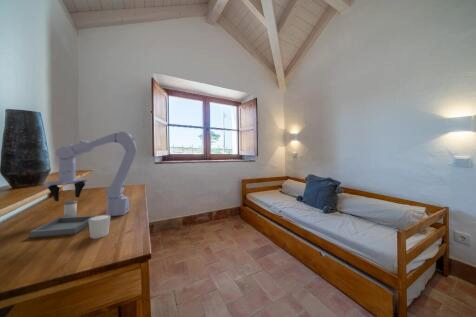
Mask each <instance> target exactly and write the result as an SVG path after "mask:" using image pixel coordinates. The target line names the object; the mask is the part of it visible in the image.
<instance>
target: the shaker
mask: <svg viewBox="0 0 476 317" xmlns="http://www.w3.org/2000/svg"><path fill="white" fill-rule="evenodd" d="M77 205H78V200H69V201H68V200H67V201H64V202H63V217H78V215H77V214H78V213H77V212H78V210H77V209H78V206H77Z"/></svg>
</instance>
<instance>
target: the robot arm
mask: <svg viewBox="0 0 476 317" xmlns="http://www.w3.org/2000/svg"><path fill="white" fill-rule="evenodd" d="M110 143H117V144H119V145H121V146H122V147H123V149H124V150H125V153H124V156H123V158H122V160H121V162H120V165H119V167H118V170H117V172H116V175H115V177H114V179H113V180H112V182H111V184H110V186H108V188H107V189H106V191H105V195H106V198H107V199H106V201H107V202H106V213H104V214H103V215H110V217H112V216H115V217H116V216H124V215H126V214H127V213H128V212H129V211H130V197H129V196H125V195H124V193H123V192H124V191H125V184H126V180H127V177H128V175H129V172H130V170H131V167H132V166H133V165H132V164H133V162H134V160H135V158H136V154H137V152H138V147H137V144H136V140H135V138H134V137H133V135H132V134H130V133H128V132H125V131H119V132H115V133H111V134H108V135H105V136H102V137H99V138H96V139H95V140H92V141H89V140H84V139H83V140H79V142H77V143H73V144H71V143H70V144H68V146H59V147H58V148H57V149H56V150H55V155H56V157H58V180H52V181H46V182H44V187H46V188H47V189H48V190H49V192H50V193H51V195H52V197H53V200H54V202H59V200H60V196H59V194H60V193H59V192H60V189H61V188H60V186H64V185H72V184H73V185H74V190H75V193H74V194H75V197H76V198H80V195H81V193H82V190H83V188H84V187H85V186H86V183H87V182H88V181H87V180H88V179H87V178H84V177H83V178H76V158H77V157H78V156H80V155H81V156H82V155H84V154H87V153H90V152H92V151H94V149H95V148H98V147H100V146H103V145H106V144H110Z"/></svg>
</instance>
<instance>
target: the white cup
mask: <svg viewBox="0 0 476 317" xmlns="http://www.w3.org/2000/svg"><path fill="white" fill-rule="evenodd" d="M94 216H95V217H92V218H90V219H89V220H88V221H89V225H88V228H89V237H90V239H99V238H103V237H105V236H108V235H109V230H110V223H111V216H110V215H104V214H100V215H94Z"/></svg>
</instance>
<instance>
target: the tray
mask: <svg viewBox="0 0 476 317" xmlns="http://www.w3.org/2000/svg"><path fill="white" fill-rule="evenodd" d="M95 216H96V215H80V216H78V215H77V217H64V216H63V217H57V218H55V219H53V220H51V221H49V222H47V223H45V224H43V225H40V226H38V227H36V228H35V229H31V230H30V231H29V239H36V238H37V239H39V238H49V237H61V236H62V237H63V236H74V235H77V234H79V233H80V232H81V231H83V230H85V229H86V228H87V227H89V221H88V220H89V219H90V218H92V217H95Z"/></svg>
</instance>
